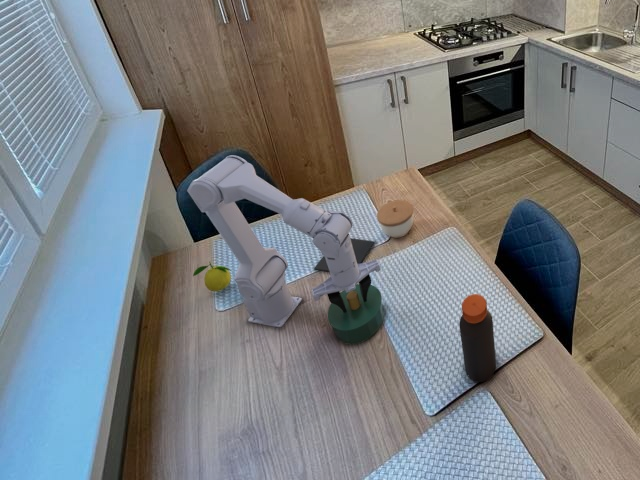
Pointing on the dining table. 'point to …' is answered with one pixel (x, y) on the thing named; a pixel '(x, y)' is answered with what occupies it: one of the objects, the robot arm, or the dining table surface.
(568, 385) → the dining table surface
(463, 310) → the bottle
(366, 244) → the mat
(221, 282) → the lemon
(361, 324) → the tin lid
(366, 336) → the tin
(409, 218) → the trinket box
